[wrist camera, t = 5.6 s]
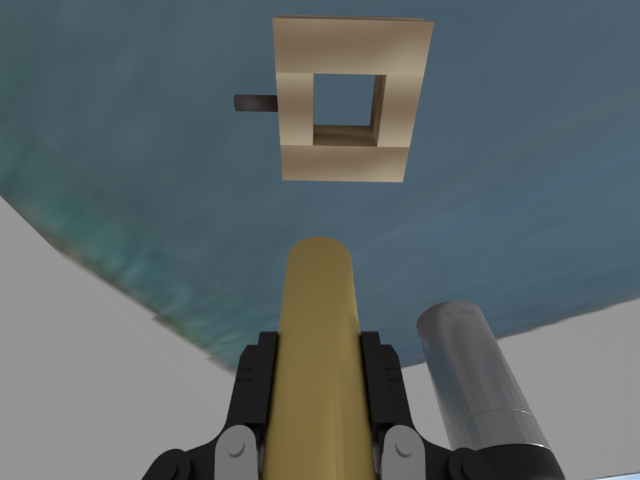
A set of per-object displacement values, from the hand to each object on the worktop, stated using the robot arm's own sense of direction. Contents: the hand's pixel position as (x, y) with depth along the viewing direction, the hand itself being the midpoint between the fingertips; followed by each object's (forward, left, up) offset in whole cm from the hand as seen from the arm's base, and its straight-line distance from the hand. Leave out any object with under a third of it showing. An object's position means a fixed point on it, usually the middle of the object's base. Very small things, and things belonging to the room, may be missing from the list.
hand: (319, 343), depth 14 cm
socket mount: (+5, 0, -21) cm, 21 cm away
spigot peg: (0, 0, -5) cm, 5 cm away
